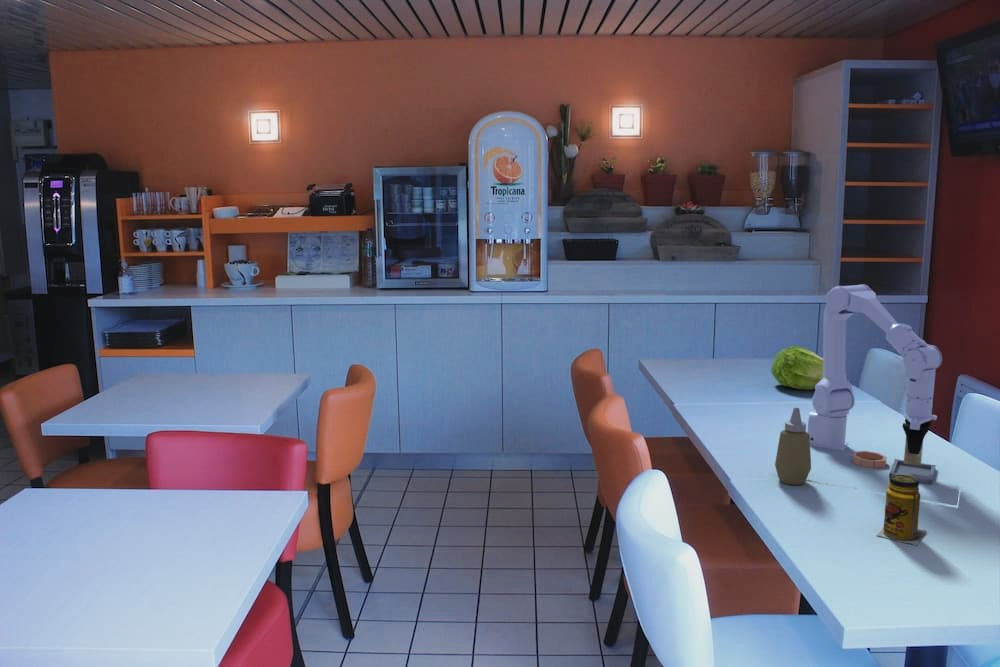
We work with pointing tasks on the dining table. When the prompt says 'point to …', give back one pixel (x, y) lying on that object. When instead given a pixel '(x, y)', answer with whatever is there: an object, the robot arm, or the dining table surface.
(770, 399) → the dining table surface
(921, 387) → the robot arm
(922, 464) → the slate tray
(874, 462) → the terracotta octagonal bowl
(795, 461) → the squeeze bottle
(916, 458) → the beech peg
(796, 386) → the lettuce
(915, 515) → the condiment
